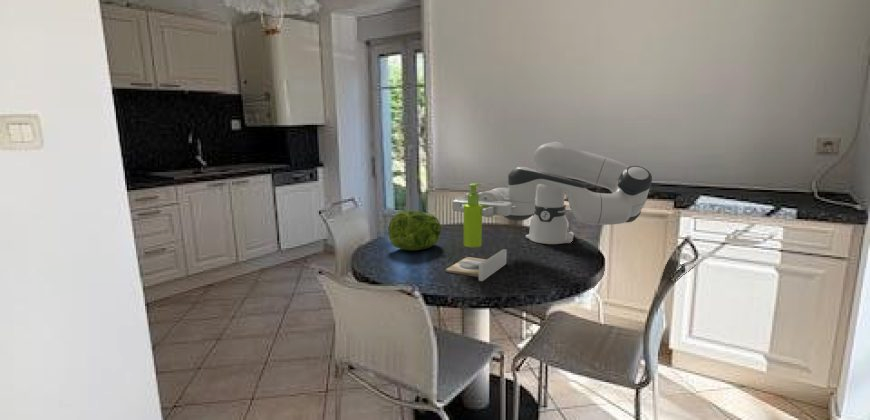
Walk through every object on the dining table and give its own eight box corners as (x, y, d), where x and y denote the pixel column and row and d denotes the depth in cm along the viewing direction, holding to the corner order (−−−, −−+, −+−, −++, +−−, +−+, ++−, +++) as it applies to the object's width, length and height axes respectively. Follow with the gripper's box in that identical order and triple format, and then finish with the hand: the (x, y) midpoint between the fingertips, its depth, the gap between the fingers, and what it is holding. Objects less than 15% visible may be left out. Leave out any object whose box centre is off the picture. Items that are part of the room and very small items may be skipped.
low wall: (502, 263, 160) (503, 249, 159) (506, 263, 160) (506, 249, 159) (478, 280, 143) (478, 264, 142) (482, 281, 142) (482, 265, 142)
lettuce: (450, 255, 180) (453, 215, 183) (413, 248, 164) (417, 205, 167) (418, 254, 190) (422, 217, 193) (381, 248, 175) (385, 207, 177)
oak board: (467, 259, 166) (467, 256, 165) (499, 263, 160) (499, 261, 160) (445, 271, 152) (445, 269, 152) (479, 277, 146) (479, 274, 146)
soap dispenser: (485, 243, 155) (487, 182, 151) (476, 248, 150) (477, 185, 146) (469, 240, 158) (470, 181, 154) (460, 245, 152) (460, 184, 148)
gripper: (517, 215, 159) (503, 223, 147) (462, 210, 168) (444, 217, 156) (518, 197, 157) (503, 203, 145) (462, 192, 167) (444, 198, 155)
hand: (472, 210), depth 151 cm, fingers closed on soap dispenser, 6 cm apart
